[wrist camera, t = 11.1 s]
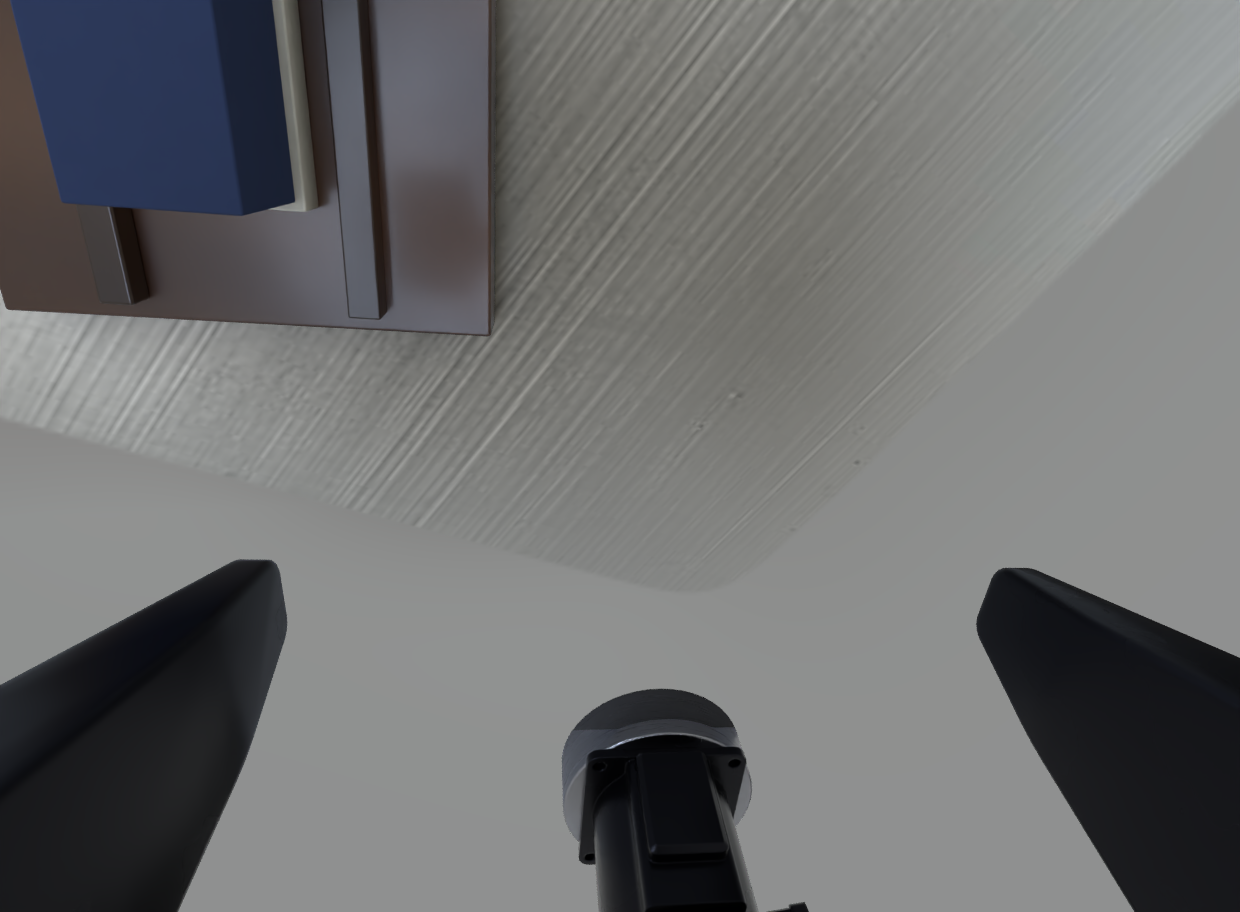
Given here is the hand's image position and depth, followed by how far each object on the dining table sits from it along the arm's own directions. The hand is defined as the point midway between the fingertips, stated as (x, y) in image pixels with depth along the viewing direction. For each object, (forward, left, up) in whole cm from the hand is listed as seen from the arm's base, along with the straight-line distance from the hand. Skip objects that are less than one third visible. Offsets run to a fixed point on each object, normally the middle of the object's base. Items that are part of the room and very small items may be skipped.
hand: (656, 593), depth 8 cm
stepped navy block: (+7, +9, -11) cm, 16 cm away
